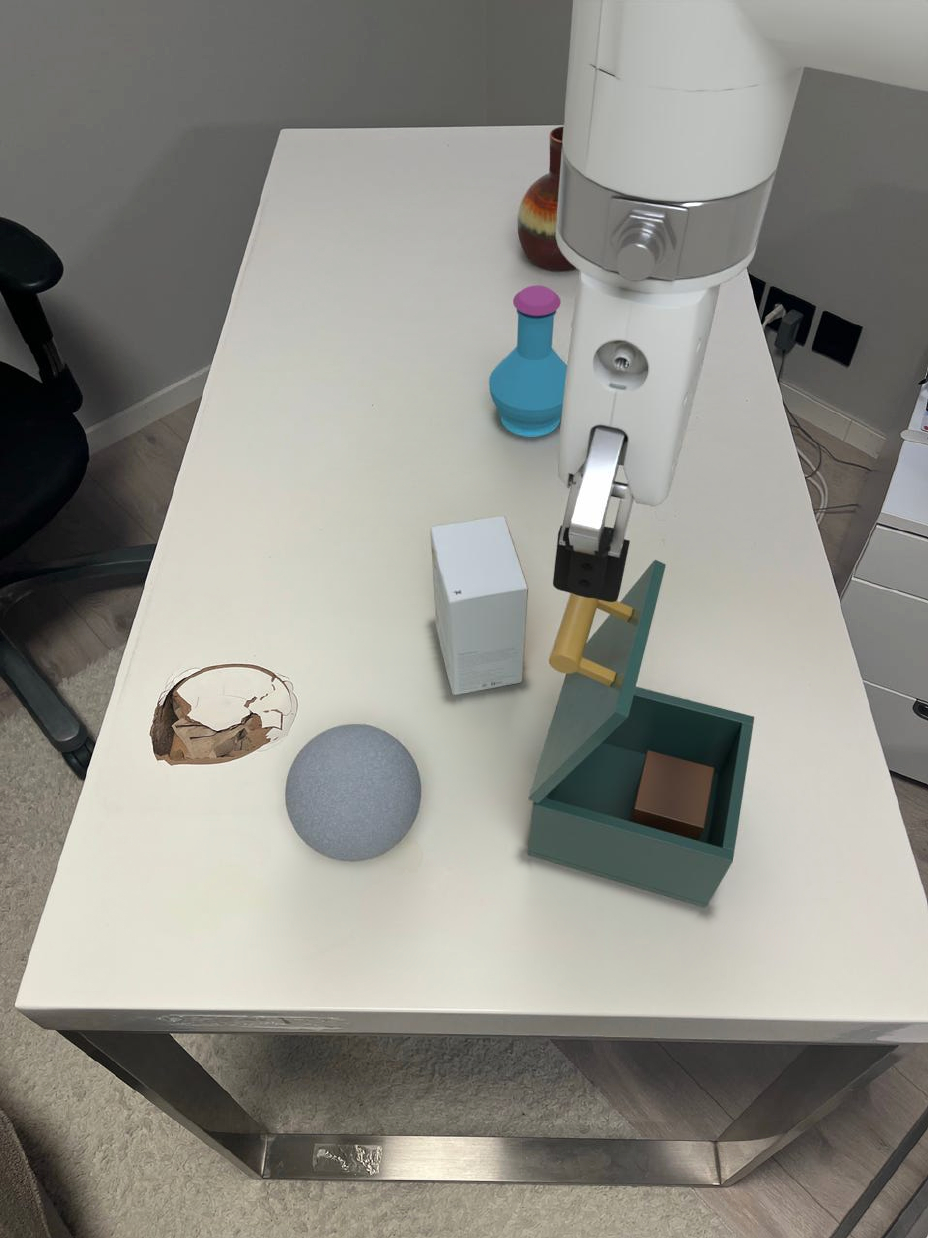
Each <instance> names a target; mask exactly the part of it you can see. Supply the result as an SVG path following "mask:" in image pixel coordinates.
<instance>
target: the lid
mask: <svg viewBox="0 0 928 1238" xmlns="http://www.w3.org/2000/svg"><path fill="white" fill-rule="evenodd" d="M666 567H667V564H665V563H664V562H662V561H659V560H657V559H654V560H653V561H652V562H651V563H650V565H649V566H648V567H647V568H646V570H645V571H644V572H643V573H642V575H640V577H639V578H638V579H637V581H635V583H634V584H633V586H631V588H630V589H629V590H628V592H627V593H626V594H625V595H624V597H623V598H622V599H621V600H620V601H618V600H617V601H615V602H607V601H603V600H599V599H595V598H586V597H582V596H578V595H575V594H573V593H570V594H569V596H568V600H567V602H566V607H565V609H564V612H563V615H562V618H561V622H560V624H559V628H558V631H557V634H556V637H555V640H554V644H553V646H552V650H551V652H550V656H549V659H548V663H549V665H550V667H551V668H552V669H554V670H555V671H557V672H559V673H561V674H565V676H564V679H563V683H562V685H561V689H560V692H559V696H558V699H557V702H556V704H555V705H556V706H555V709H554V712H553V715H552V718H551V721H550V725H549V728H548V732H547V735H546V738H545V741H544V745H543V747H542V751H541V754H540V758H539V762H538V764H537V768H536V771H535V774H534V777H533V781H532V784H531V787H530V791H529V794H528V801H531V802H532V803H533V802H536V803H539V802H540V801H541V800H542V799H543V798H544V797H545V796H547V795H548V794H549V793H550V792H551V791H552V790H553V789H554V788H555V787H556V786H557V785H558V784H559V783H560V782H561V781H562V780H563V779H564V778H565V777H566V776H567V775H568V774H569V773H570V772H572V771H573V770H574V769H575V768H576V767H577V766H578V765H579V764H580V763H581V762H582V761H583V760H584V759H585V758H586V757H587V756H588V755H589V754H590V753H591V752H592V751H593V750H594V749H595V748H597V747H598V746H599V745H600V744H601V743H602V742H603V741H604V740H605V739H606V738H607V737H608V736H609V735H610V734H611V733H612V732H613V731H614V730H615V729H616V728H617V727H618V726H619V725H620V724H622V723H623V722H624V721H625V720H626V719H627V718H628V716H629V712H630V708H631V704H632V700H633V696H634V692H635V688H636V687H637V683H638V679H639V675H640V671H641V667H642V663H643V659H644V656H645V651H646V647H647V643H648V638H649V635H650V630H651V627H652V622H653V620H654V619H653V618H654V615H655V611H656V607H657V602H658V599H659V595H660V590H661V586H662V582H663V578H664V574H665V570H666ZM597 609H598V610H600V611H603V612H605V613H607V614H609V615H608V616H607V617H606V619H605V620H604V621H603V622H602V623H601V625H600V626H599V627H598V629H596V631H595V632H594V633H593V634H592V636H591V637H590V638H589V635H590V632H591V628H592V626H593V623H594V618H595V616H596V612H597Z"/></svg>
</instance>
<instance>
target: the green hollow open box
mask: <svg viewBox="0 0 928 1238" xmlns="http://www.w3.org/2000/svg"><path fill="white" fill-rule="evenodd" d="M754 724H755V716H754V715H749V714H745V713H743V712H742V713H741V712H737V711H734V710H731V709H726V708H722V707H718V706H714V705H710V704H705V703H702V702H698V701H695V700H691V699H687V698H682V697H678V696H675V695H671V694H667V693H663V692H659V691H656V690H650V689H647V688H644V687H639V686H636V688H635V692H634V696H633V700H632V704H631V708H630V712H629V716H628V718H627V719H626V720H625V721H624V722H623V723H622V724H620V725H619V726H618V727H617V728H616V729H615V730H614V731H613V732H612V733H611V734H610V735H609V736H608V737H607V738H606V739H605V740H604V741H603V742H602V743H601V744H600V745H599V746H598V747H597V748H595V749H594V750H593V751H592V752H591V753H590V754H589V755H588V756H587V757H586V758H585V759H584V760H583V761H582V762H581V763H580V764H579V765H578V766H577V767H576V768H575V769H574V770H573V771H572V772H570V773H569V774H568V775H567V776H566V777H565V778H564V779H563V780H562V781H561V782H560V783H559V784H558V785H557V786H556V787H555V788H554V789H553V790H552V791H551V792H550V793H549V794H548V795H547V796H545V797H544V798H543V799H542V800H541V801H540V802H539V803H536V802H533V801H532V806H531V807H532V808H531V818H530V829H529V836H528V837H529V838H528V846H527V855H528V856H531V857H534V858H537V859H540V860H544V861H547V862H551V863H554V864H558V865H561V866H564V867H566V868H571V869H574V870H578V871H581V872H583V873H584V872H585V873H588V874H591V875H595V876H598V877H601V878H604V879H608V880H612V881H614V882H618V883H621V884H624V885H627V886H632V887H635V888H638V889H641V890H645V891H648V892H652V893H655V894H658V895H661V896H665V897H667V898H671V899H674V900H678V901H681V902H685V903H687V904H691V905H694V906H699V907H702V908H705V909H707V907H708V906H709V904H710V902H711V901H712V899H713V898H714V896H715V894H716V892H717V890H718V888H719V887H720V885H721V883H722V881H723V879H724V878H725V876H726V874H727V872H728V871H729V869H730V868H731V866H732V864H733V862H734V857H735V849H736V843H737V837H738V830H739V823H740V817H741V810H742V803H743V797H744V791H745V790H744V789H745V784H746V783H745V782H746V777H747V770H748V769H747V768H748V763H749V758H750V757H749V756H750V750H751V743H752V737H753V730H754ZM648 750H650V751H653V752H657V753H661V754H665V755H668V756H672V757H676V758H679V759H683V760H687V761H691V762H694V763H698V764H702V765H706V766H709V767H713V768H714V774H713V780H712V785H711V791H710V797H709V803H708V808H707V814H706V820H705V825H704V829H703V831H702V833H701V835H700V837H699V840H698V841H696V840H693V839H689V838H686V837H682V836H679V835H675V834H672V833H668V832H665V831H661V830H658V829H654V828H651V827H647V826H644V825H640V824H637V823H633V822H630V821H629V819H630V815H631V811H632V806H633V802H634V798H635V793H636V789H637V785H638V780H639V777H640V774H641V770H642V767H643V764H644V760H645V757H646V754H647V751H648Z"/></svg>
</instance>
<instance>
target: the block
mask: <svg viewBox="0 0 928 1238" xmlns="http://www.w3.org/2000/svg"><path fill="white" fill-rule="evenodd" d="M713 774H714V768H713V767H709V766H706V765H702V764H698V763H694V762H691V761H687V760H683V759H679V758H676V757H672V756H668V755H665V754H661V753H657V752H653V751H650V750H648V751H647V754H646V757H645V760H644V764H643V767H642V770H641V774H640V777H639V780H638V785H637V789H636V793H635V798H634V802H633V806H632V811H631V815H630V819H629V821H630V822H633V823H637V824H640V825H644V826H647V827H651V828H654V829H658V830H661V831H665V832H668V833H672V834H675V835H679V836H682V837H686V838H689V839H693V840H696V841H698V840H699V837H700V835H701V833H702V831H703V829H704V825H705V820H706V814H707V808H708V803H709V797H710V791H711V785H712V780H713Z"/></svg>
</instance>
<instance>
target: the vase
mask: <svg viewBox="0 0 928 1238" xmlns="http://www.w3.org/2000/svg"><path fill="white" fill-rule="evenodd" d="M563 126H564V125H562V126H557V127H555V128H553V129H552V130H551V131H550V133H549V169H548V173H546V174H544V175H542V176H541V177H539V178H538V179H537V180H535V181H534V182H533V183H532V184H531V185H530V186H529V187H528V189H527V190H526V191H525V193H524V195H523V197H522V198H521V201H520V204H519V207H518V212H517V220H516V222H517V223H516V225H517V234H518V235H517V236H518V239H519V242H520V245H521V249H522V250H523V252H524V254H525V256H526V257H527V258H528V260H530V261H531V263H533V264H534V265H536V266H538V267H539V268H542V269H544V270H547V271H552V272H553V271H555V272H566V271H572V270H574V269H577V268H576V267H575V266H573V265H572V264H571V263H570V262H569V261H568V260H567V259H566V258H565V256H564V255H563V254H562V253H561V251H560V249H559V247H558V244H557V240H556V224H557V207H558V194H559V180H560V166H561V153H562V145H563V142H562V140H563Z"/></svg>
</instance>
